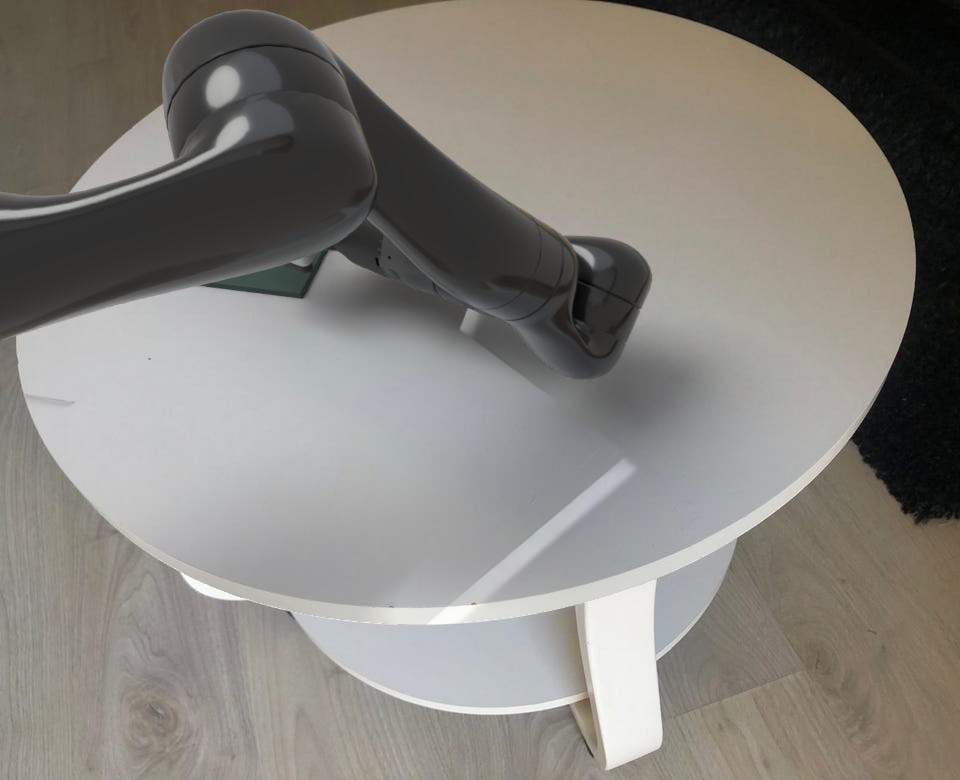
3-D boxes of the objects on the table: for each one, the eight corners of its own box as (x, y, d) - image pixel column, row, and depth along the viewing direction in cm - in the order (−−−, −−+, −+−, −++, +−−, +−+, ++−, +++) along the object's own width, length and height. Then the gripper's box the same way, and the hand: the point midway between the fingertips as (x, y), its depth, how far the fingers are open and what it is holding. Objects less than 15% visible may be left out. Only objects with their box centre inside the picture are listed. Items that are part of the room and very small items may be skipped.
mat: (161, 280, 92) (158, 275, 91) (222, 188, 101) (221, 183, 100) (301, 298, 89) (300, 293, 88) (352, 201, 97) (351, 196, 97)
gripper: (458, 153, 81) (309, 102, 88) (349, 253, 74) (196, 189, 81) (466, 224, 87) (326, 171, 94) (366, 325, 80) (221, 259, 86)
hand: (266, 180), depth 87 cm, fingers open, 8 cm apart
